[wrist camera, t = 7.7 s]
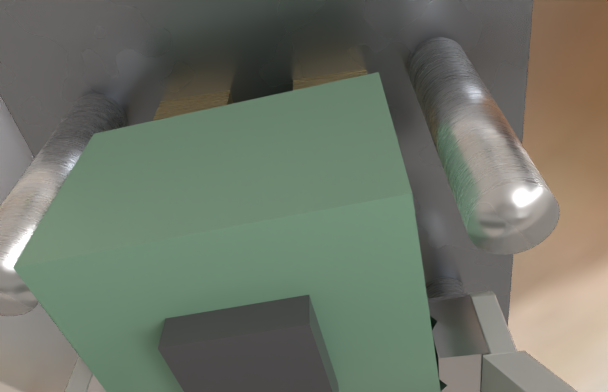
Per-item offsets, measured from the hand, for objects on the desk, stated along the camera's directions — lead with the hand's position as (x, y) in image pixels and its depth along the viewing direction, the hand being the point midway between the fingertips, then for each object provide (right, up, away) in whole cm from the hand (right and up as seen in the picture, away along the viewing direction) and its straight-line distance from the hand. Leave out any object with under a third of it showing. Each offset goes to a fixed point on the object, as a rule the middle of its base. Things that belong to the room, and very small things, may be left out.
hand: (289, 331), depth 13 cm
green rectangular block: (0, +1, +1) cm, 2 cm away
